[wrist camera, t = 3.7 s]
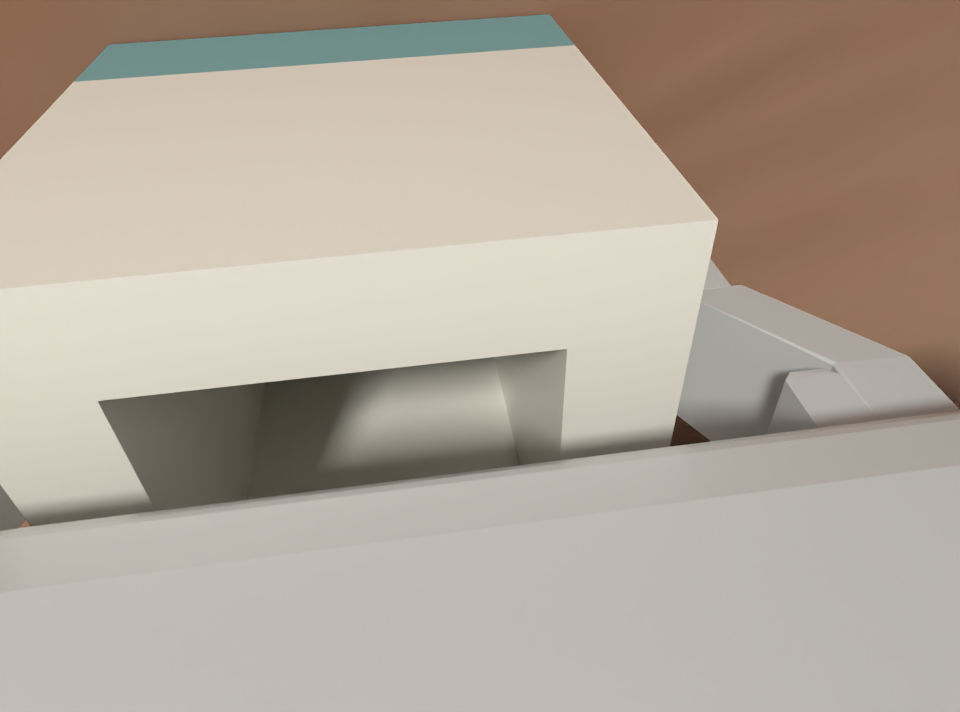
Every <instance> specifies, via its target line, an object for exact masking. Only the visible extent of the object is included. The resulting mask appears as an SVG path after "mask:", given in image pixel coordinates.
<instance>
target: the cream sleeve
mask: <svg viewBox="0 0 960 712" xmlns="http://www.w3.org/2000/svg"><path fill="white" fill-rule="evenodd" d="M717 224H718V218H717V217H716V216H715V215H714V214H713V212H712V211H711V210H710V209H709V208H708V206H707V205H706V204H705V203H704V201H703V200H702V199H701V198H700V197H699V195H698V194H697V193H696V192H695V191H694V189H693V188H692V187H691V186H690V184H689V183H688V182H687V181H686V180H685V178H684V177H683V176H682V175H681V174H680V172H679V171H678V170H677V169H676V167H675V166H674V165H673V164H672V163H671V161H670V160H669V159H668V158H667V157H666V155H665V154H664V153H663V152H662V150H661V149H660V148H659V147H658V146H657V144H656V143H655V142H654V141H653V140H652V138H651V137H650V136H649V135H648V133H647V132H646V131H645V130H644V129H643V127H642V126H641V125H640V124H639V123H638V121H637V120H636V119H635V118H634V116H633V115H632V114H631V113H630V112H629V110H628V109H627V108H626V107H625V106H624V104H623V103H622V102H621V101H620V99H619V98H618V97H617V96H616V95H615V93H614V92H613V91H612V90H611V89H610V87H609V86H608V85H607V84H606V82H605V81H604V80H603V79H602V78H601V76H600V75H599V74H598V73H597V72H596V70H595V69H594V68H593V67H592V65H591V64H590V63H589V62H588V61H587V59H586V58H585V57H584V56H583V55H582V53H581V52H580V51H579V50H578V48H577V47H576V46H575V45H574V44H573V42H572V41H571V40H570V39H569V38H568V36H567V35H566V34H565V33H564V31H563V30H562V29H561V28H560V27H559V25H558V24H557V23H556V22H555V21H554V19H553V18H552V17H551V16H550V14H545V15H531V16H517V17H502V18H488V19H473V20H459V21H444V22H430V23H415V24H401V25H386V26H372V27H357V28H343V29H328V30H314V31H300V32H285V33H271V34H256V35H242V36H227V37H213V38H198V39H184V40H169V41H155V42H140V43H126V44H111V45H108V46H107V47H106V48H105V49H104V50H103V51H102V53H101V54H100V55H99V56H98V57H97V58H96V59H95V60H94V61H93V62H92V63H91V64H90V65H89V66H88V67H87V68H86V69H85V71H84V72H83V73H82V74H81V75H80V76H79V77H78V78H77V79H76V80H75V81H74V82H73V83H72V84H71V85H70V86H69V88H68V89H67V90H66V91H65V92H64V93H63V94H62V95H61V96H60V97H59V98H58V99H57V100H56V101H55V102H54V103H53V104H52V106H51V107H50V108H49V109H48V110H47V111H46V112H45V113H44V114H43V115H42V116H41V117H40V118H39V119H38V120H37V121H36V122H35V124H34V125H33V126H32V127H31V128H30V129H29V130H28V131H27V132H26V133H25V134H24V135H23V136H22V137H21V138H20V139H19V141H18V142H17V143H16V144H15V145H14V146H13V147H12V148H11V149H10V150H9V151H8V152H7V153H6V154H5V155H4V156H3V157H2V159H1V160H0V485H1V486H2V488H3V489H4V490H5V492H6V493H7V494H8V496H9V497H10V498H11V500H12V501H13V503H14V504H15V505H16V507H17V508H18V509H19V511H20V512H21V513H22V515H23V516H24V518H25V519H26V520H27V522H28V523H29V524H30V526H31V527H32V526H40V525H48V524H56V523H64V522H72V521H80V520H88V519H96V518H104V517H112V516H120V515H128V514H136V513H144V512H152V511H160V510H168V509H176V508H184V507H192V506H200V505H208V504H216V503H224V502H232V501H240V500H248V499H256V498H264V497H272V496H280V495H288V494H296V493H304V492H312V491H320V490H328V489H336V488H344V487H352V486H360V485H368V484H376V483H384V482H392V481H400V480H408V479H416V478H424V477H432V476H440V475H448V474H456V473H464V472H472V471H480V470H488V469H496V468H504V467H512V466H520V465H528V464H536V463H544V462H552V461H560V460H568V459H576V458H584V457H592V456H600V455H608V454H616V453H624V452H632V451H640V450H648V449H656V448H664V447H670V443H671V439H672V434H673V429H674V425H675V420H676V415H677V411H678V406H679V401H680V397H681V392H682V387H683V383H684V378H685V373H686V369H687V364H688V359H689V355H690V350H691V345H692V341H693V336H694V331H695V327H696V322H697V317H698V313H699V308H700V303H701V299H702V294H703V289H704V285H705V280H706V275H707V271H708V266H709V261H710V257H711V252H712V247H713V243H714V238H715V233H716V229H717Z"/></svg>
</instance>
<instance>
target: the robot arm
mask: <svg viewBox="0 0 960 712" xmlns="http://www.w3.org/2000/svg"><path fill="white" fill-rule="evenodd" d="M677 416H679V417H680V418H681V419H683V420H684V421H685V422H687V423H688V424H689V425H690V426H692V427H693V428H694V429H696V430H697V431H698V432H700V433H701V434H702V435H703V436H705V437H706V438H707V439H709V440H710V441H711V442H703V443H695V444H687V445H679V446H672V447H664V448H656V449H648V450H640V451H632V452H624V453H616V454H608V455H600V456H592V457H584V458H576V459H568V460H560V461H552V462H544V463H536V464H528V465H520V466H512V467H504V468H496V469H488V470H480V471H472V472H464V473H456V474H448V475H440V476H432V477H424V478H416V479H408V480H400V481H392V482H384V483H376V484H368V485H360V486H352V487H344V488H336V489H328V490H320V491H312V492H304V493H296V494H288V495H280V496H272V497H264V498H256V499H248V500H240V501H232V502H224V503H216V504H208V505H200V506H192V507H184V508H176V509H168V510H160V511H152V512H144V513H136V514H128V515H120V516H112V517H104V518H96V519H88V520H80V521H72V522H64V523H56V524H48V525H40V526H32V527H24V528H18V527H19V526H20V525H21V524H22V523H23V522H24V521H25V520H26V519H25V518H24V516H23V515H22V513H21V512H20V511H19V509H18V508H17V507H16V505H15V504H14V503H13V501H12V500H11V498H10V497H9V496H8V494H7V493H6V492H5V490H4V489H3V488H2V486H1V485H0V712H960V409H959V408H958V407H957V406H956V405H955V404H954V403H953V402H952V401H951V400H950V399H949V398H948V397H947V396H946V395H945V394H944V392H943V391H942V390H941V389H940V388H939V387H938V386H937V385H936V384H935V383H934V382H933V381H932V380H931V379H930V378H929V377H928V376H927V375H926V374H925V373H924V372H923V371H922V370H921V368H920V367H919V366H918V365H917V364H916V363H915V362H914V361H913V360H912V359H911V358H910V357H909V356H907V355H904V354H902V353H900V352H897V351H895V350H893V349H890V348H888V347H886V346H883V345H881V344H879V343H876V342H874V341H872V340H869V339H867V338H865V337H862V336H860V335H858V334H855V333H853V332H851V331H848V330H846V329H844V328H841V327H839V326H837V325H834V324H832V323H830V322H827V321H825V320H823V319H820V318H818V317H816V316H813V315H811V314H808V313H806V312H804V311H801V310H799V309H797V308H794V307H792V306H790V305H787V304H785V303H783V302H780V301H778V300H776V299H773V298H771V297H769V296H766V295H764V294H762V293H759V292H757V291H755V290H752V289H750V288H748V287H745V286H743V285H737V286H731V285H730V284H729V282H728V281H727V280H726V278H725V277H724V276H723V274H722V273H721V272H720V271H719V269H718V268H717V267H716V265H715V264H714V263H713V261H712V260H711V259H710V261H709V266H708V271H707V275H706V280H705V285H704V289H703V294H702V299H701V303H700V308H699V313H698V317H697V322H696V327H695V331H694V336H693V341H692V345H691V350H690V355H689V359H688V364H687V369H686V373H685V378H684V383H683V387H682V392H681V397H680V401H679V406H678V411H677Z"/></svg>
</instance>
